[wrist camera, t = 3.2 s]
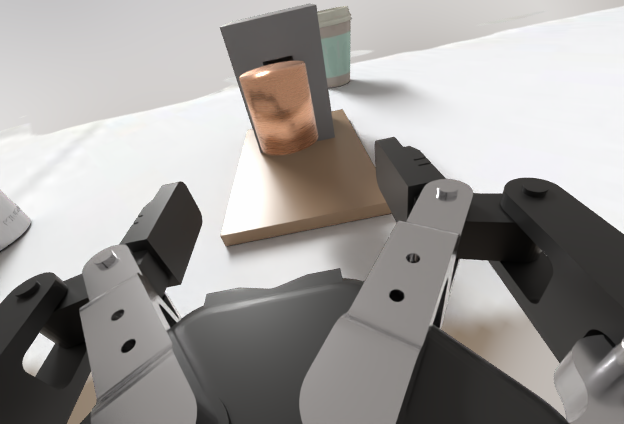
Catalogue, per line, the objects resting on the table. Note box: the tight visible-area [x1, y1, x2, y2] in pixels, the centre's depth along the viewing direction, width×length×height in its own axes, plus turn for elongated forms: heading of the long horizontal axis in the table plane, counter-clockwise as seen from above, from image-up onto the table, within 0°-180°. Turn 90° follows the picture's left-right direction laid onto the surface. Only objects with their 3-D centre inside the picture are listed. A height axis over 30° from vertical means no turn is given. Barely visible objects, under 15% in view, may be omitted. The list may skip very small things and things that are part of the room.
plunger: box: [239, 61, 318, 155], centre depth 24 cm, size 14×4×5 cm, turn 3°
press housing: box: [220, 4, 392, 246], centre depth 28 cm, size 23×14×14 cm, turn 4°
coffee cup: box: [317, 6, 352, 88], centre depth 53 cm, size 8×8×12 cm
